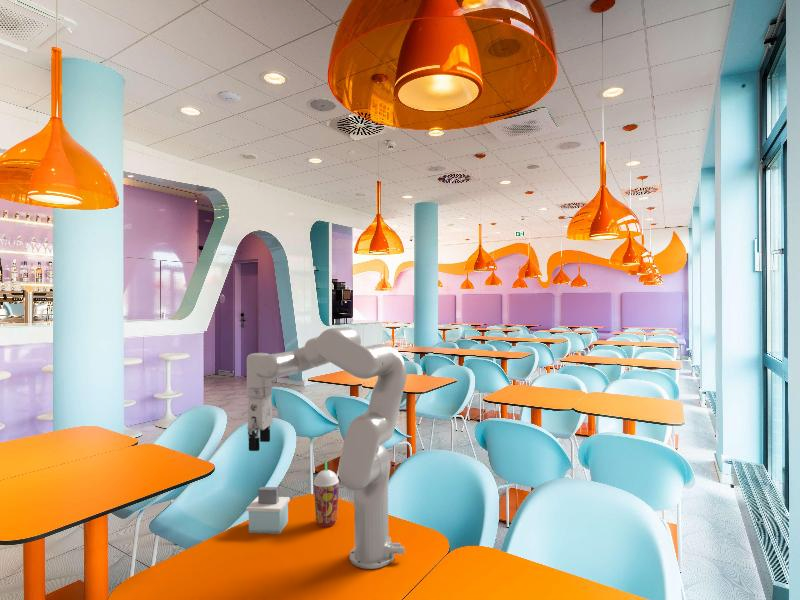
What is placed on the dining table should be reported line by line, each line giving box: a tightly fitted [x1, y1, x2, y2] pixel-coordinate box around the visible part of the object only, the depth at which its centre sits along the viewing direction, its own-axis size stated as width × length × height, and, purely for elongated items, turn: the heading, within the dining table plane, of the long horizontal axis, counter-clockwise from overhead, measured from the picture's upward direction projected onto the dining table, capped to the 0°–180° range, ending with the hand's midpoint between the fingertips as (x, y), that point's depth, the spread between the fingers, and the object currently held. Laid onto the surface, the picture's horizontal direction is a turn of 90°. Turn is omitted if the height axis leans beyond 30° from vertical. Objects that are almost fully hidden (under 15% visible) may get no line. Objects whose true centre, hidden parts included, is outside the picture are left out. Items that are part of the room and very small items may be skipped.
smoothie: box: [312, 461, 340, 528], centre depth 155 cm, size 8×8×20 cm
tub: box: [248, 502, 289, 535], centre depth 152 cm, size 10×8×7 cm
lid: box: [245, 486, 291, 512], centre depth 152 cm, size 11×9×6 cm
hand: (259, 445), depth 150 cm, fingers open, 9 cm apart
